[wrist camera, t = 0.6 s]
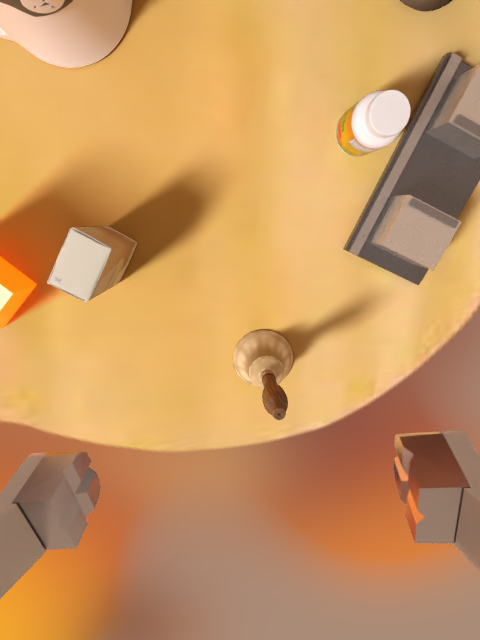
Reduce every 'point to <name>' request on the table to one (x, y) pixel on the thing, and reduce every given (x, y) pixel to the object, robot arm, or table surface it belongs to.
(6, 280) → the orange juice
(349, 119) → the supplement bottle
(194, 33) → the table surface
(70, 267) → the skincare box
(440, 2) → the pillar candle
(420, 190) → the rail plate
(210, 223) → the table surface
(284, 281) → the table surface
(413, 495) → the robot arm
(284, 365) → the hand bell
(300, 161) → the table surface
